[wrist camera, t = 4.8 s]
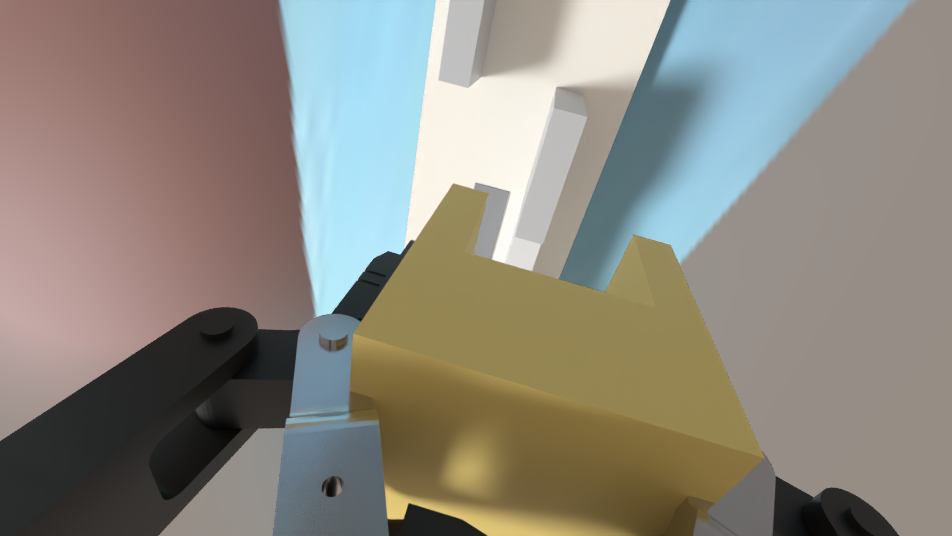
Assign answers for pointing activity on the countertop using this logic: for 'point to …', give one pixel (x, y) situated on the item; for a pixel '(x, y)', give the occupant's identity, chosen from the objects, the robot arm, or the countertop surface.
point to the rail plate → (527, 115)
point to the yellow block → (545, 389)
